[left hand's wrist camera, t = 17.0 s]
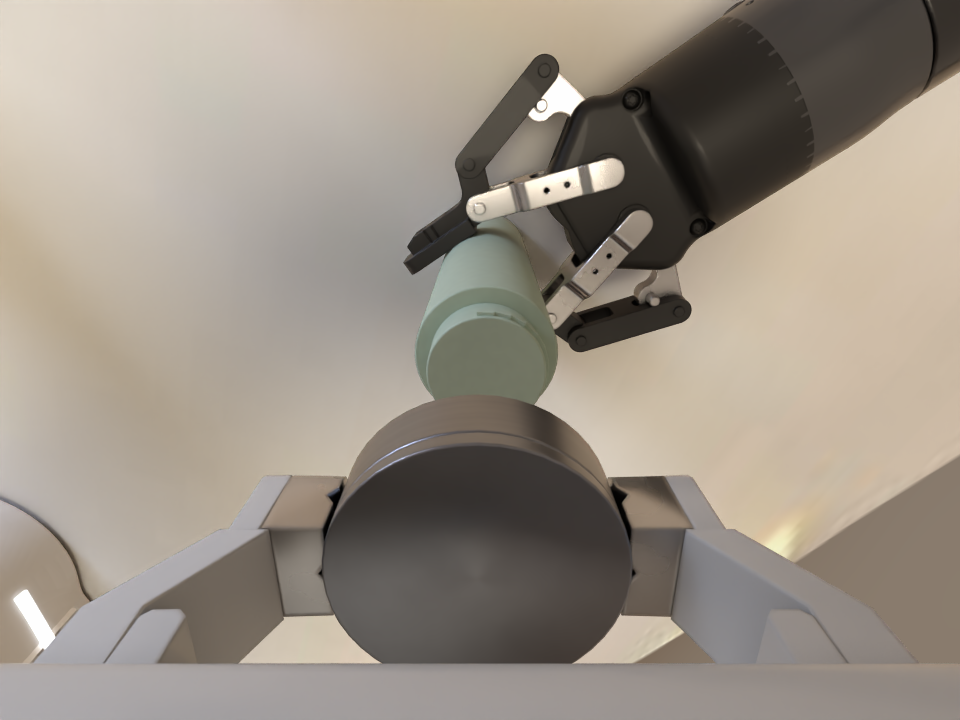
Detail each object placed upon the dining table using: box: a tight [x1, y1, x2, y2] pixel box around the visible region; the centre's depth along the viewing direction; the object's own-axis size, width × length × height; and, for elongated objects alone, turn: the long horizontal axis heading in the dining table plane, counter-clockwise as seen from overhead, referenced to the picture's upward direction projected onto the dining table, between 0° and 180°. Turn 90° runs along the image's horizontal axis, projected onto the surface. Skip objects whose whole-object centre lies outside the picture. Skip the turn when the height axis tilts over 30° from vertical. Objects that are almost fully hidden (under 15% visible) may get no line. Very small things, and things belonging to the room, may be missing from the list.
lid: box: [322, 394, 633, 664], centre depth 10 cm, size 5×5×2 cm
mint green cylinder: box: [415, 217, 558, 405], centre depth 25 cm, size 4×4×18 cm
